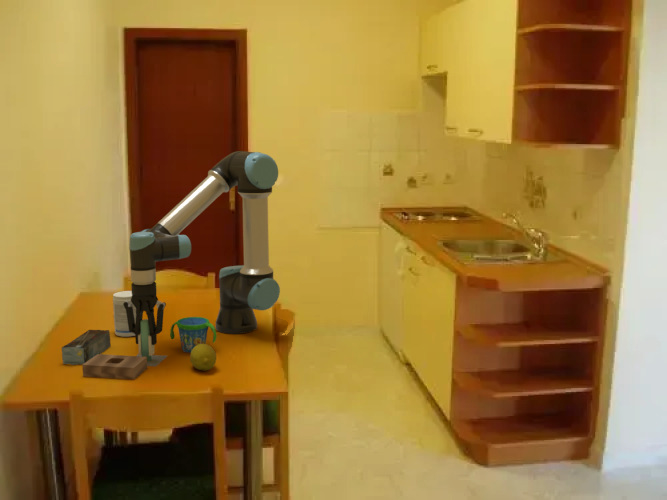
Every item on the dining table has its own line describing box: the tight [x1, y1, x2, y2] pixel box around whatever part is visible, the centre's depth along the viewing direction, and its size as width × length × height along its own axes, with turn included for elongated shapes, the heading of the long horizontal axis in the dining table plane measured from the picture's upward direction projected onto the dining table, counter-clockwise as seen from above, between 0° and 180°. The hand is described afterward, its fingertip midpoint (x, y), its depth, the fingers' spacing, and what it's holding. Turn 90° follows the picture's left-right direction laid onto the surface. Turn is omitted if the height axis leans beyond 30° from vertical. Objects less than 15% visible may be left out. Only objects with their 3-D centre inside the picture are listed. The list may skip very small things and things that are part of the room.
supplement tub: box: [112, 290, 136, 338], centre depth 264 cm, size 10×10×15 cm
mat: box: [136, 353, 168, 367], centre depth 236 cm, size 10×10×1 cm
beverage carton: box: [61, 329, 111, 366], centre depth 241 cm, size 8×19×7 cm, turn 172°
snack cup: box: [169, 316, 218, 354], centre depth 247 cm, size 16×11×10 cm
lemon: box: [189, 343, 217, 372], centre depth 229 cm, size 11×8×8 cm
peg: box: [140, 318, 152, 362], centre depth 235 cm, size 3×3×13 cm
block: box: [82, 353, 148, 381], centre depth 225 cm, size 16×10×4 cm, turn 81°
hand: (146, 353), depth 236 cm, fingers closed on peg, 3 cm apart
